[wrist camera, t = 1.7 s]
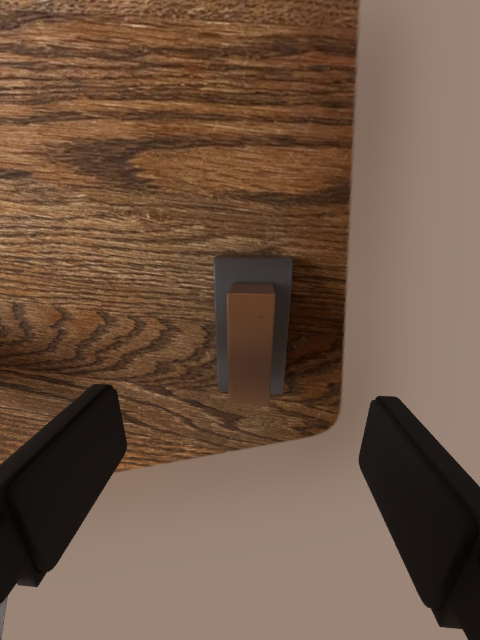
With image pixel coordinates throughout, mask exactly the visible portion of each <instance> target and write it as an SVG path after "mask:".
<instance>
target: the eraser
mask: <svg viewBox="0 0 480 640" xmlns="http://www.w3.org/2000/svg"><path fill="white" fill-rule="evenodd" d="M293 260H294V259H293V258H292V257H290V256H288V255H219V256H217V257H214V258H213V263H214V293H215V322H216V351H217V380H218V391H223V392H228V399H229V405H241V406H260V407H269V405H270V394H283V391H284V378H285V365H286V352H287V339H288V325H289V312H290V299H291V286H292V273H293Z"/></svg>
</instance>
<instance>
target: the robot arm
mask: <svg viewBox="0 0 480 640" xmlns="http://www.w3.org/2000/svg"><path fill="white" fill-rule="evenodd" d="M126 449H127V441H126V436H125V431H124V426H123V420H122V415H121V410H120V405H119V400H118V394H117V391H116V389H113V387H112V385H107V384H94V385H92V386H91V387H89V388H88V389H87V390H86V391H85V392H84V393H83V394H81V395H80V396H79V397H78V398H77V399H76V400H75V401H73V402H72V403H71V404H70V405H69V406H68V407H66V408H65V409H64V410H63V411H62V412H61V413H60V414H58V415H57V416H56V417H55V418H54V419H53V420H52V421H50V422H49V423H48V424H47V425H46V426H45V427H43V428H42V429H41V430H40V431H39V432H38V433H37V434H35V435H34V436H33V437H32V438H31V439H30V440H29V441H27V442H26V443H25V444H24V445H23V446H22V447H20V448H19V449H18V450H17V451H16V452H15V453H14V454H12V455H11V456H10V457H9V458H8V459H7V460H6V461H4V462H3V463H2V464H1V465H0V640H1V638H2V631H3V624H4V617H5V610H6V604H7V597H8V595H9V593H10V592H11V590H12V589H13V587H14V586H15V585H16V583H17V584H18V585H23V586H32V587H38V585H39V584H40V582H41V581H42V579H43V577H44V576H45V574H46V573H47V572H49V571H50V570H52V569H53V568H54V566H55V565H56V564H57V563H58V561H59V559H60V558H61V556H62V554H63V553H64V551H65V550H66V548H67V547H68V545H69V543H70V542H71V540H72V539H73V537H74V535H75V534H76V532H77V531H78V529H79V527H80V526H81V524H82V522H83V521H84V519H85V518H86V516H87V514H88V513H89V511H90V510H91V508H92V506H93V505H94V503H95V501H96V500H97V498H98V497H99V495H100V493H101V492H102V490H103V489H104V487H105V485H106V484H107V482H108V480H109V479H110V477H111V476H112V474H113V472H114V471H115V469H116V468H117V466H118V464H119V463H120V461H121V460H122V458H123V456H124V455H125V452H126ZM359 465H360V469H361V471H362V473H363V475H364V477H365V479H366V482H367V484H368V486H369V488H370V490H371V493H372V495H373V497H374V499H375V501H376V503H377V506H378V507H379V510H380V512H381V514H382V516H383V518H384V521H385V523H386V525H387V527H388V529H389V532H390V534H391V536H392V538H393V540H394V542H395V545H396V547H397V549H398V551H399V553H400V555H401V558H402V560H403V562H404V564H405V566H406V568H407V570H408V573H409V575H410V577H411V579H412V581H413V583H414V585H415V588H416V590H417V592H418V594H419V596H420V598H421V600H422V602H423V603H424V604H425V605H426V606H427V607H428V608H431V610H432V612H433V614H434V616H435V618H436V620H437V622H438V624H439V626H440V627H446V628H458V629H463V631H464V632H465V635H466V636H467V638H468V640H480V487H479V486H478V484H477V483H476V482H475V481H474V480H473V479H472V478H471V477H470V476H469V475H468V474H467V473H466V471H464V469H463V468H462V467H461V466H460V465H459V464H458V463H457V462H456V461H455V459H454V458H453V457H452V456H451V455H450V454H449V453H448V452H447V451H446V450H445V448H444V447H442V445H441V444H440V443H439V442H438V441H437V440H436V439H435V438H434V437H433V435H432V434H431V433H430V432H429V431H428V430H427V429H426V428H425V427H424V426H423V424H422V423H421V422H420V421H419V420H418V419H417V418H416V417H415V416H414V415H413V414H412V413H411V411H410V410H409V409H408V408H407V407H406V406H405V405H404V404H403V403H402V402H401V400H400V399H398V398H397V397H390V396H378V397H376V399H375V400H372V401H371V404H370V408H369V413H368V418H367V422H366V426H365V431H364V436H363V441H362V445H361V449H360V454H359Z"/></svg>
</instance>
